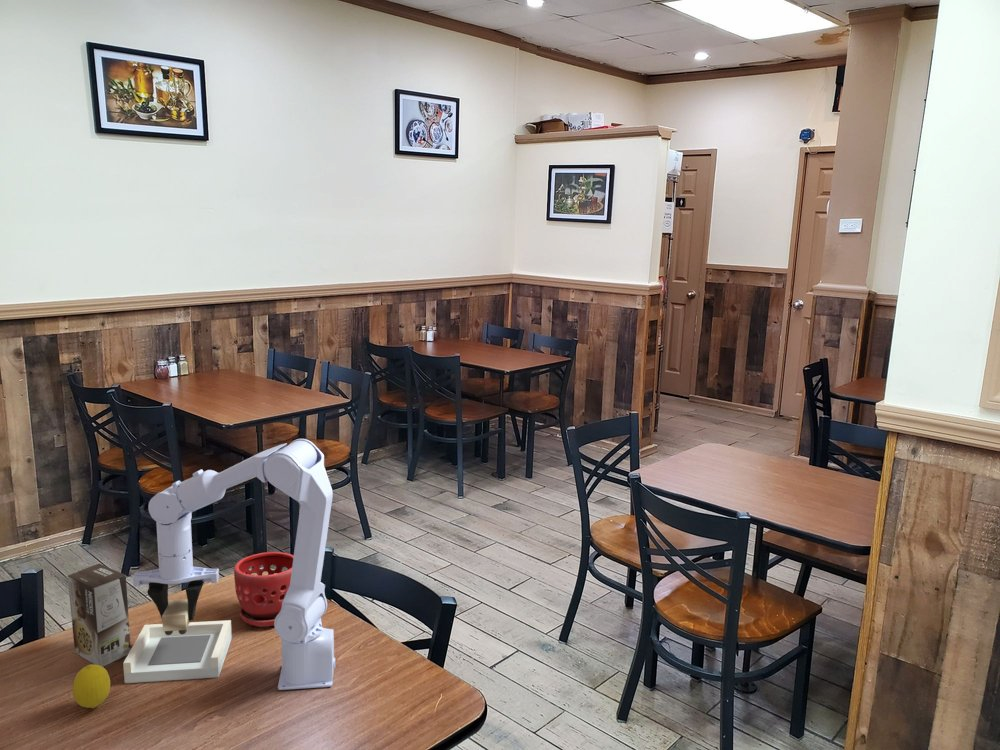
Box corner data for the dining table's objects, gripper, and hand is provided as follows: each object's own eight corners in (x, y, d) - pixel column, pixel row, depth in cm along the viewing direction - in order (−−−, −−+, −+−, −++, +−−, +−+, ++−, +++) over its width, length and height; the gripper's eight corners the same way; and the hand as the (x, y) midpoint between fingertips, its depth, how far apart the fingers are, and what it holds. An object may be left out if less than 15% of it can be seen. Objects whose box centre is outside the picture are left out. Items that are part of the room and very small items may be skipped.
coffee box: (133, 653, 142) (127, 574, 139) (99, 669, 136) (93, 588, 133) (105, 637, 147) (100, 561, 143) (72, 652, 141) (66, 574, 138)
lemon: (103, 693, 130) (100, 651, 128) (117, 707, 126) (114, 664, 125) (69, 708, 125) (65, 665, 124) (83, 722, 122) (79, 679, 120)
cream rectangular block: (193, 618, 142) (192, 598, 141) (186, 635, 136) (185, 614, 135) (171, 620, 141) (170, 599, 140) (163, 637, 135) (162, 616, 135)
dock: (231, 638, 148) (230, 620, 147) (218, 677, 135) (217, 657, 135) (145, 643, 145) (144, 624, 144) (124, 683, 133) (123, 663, 132)
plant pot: (312, 615, 158) (312, 562, 155) (257, 639, 148) (255, 583, 146) (278, 594, 166) (277, 544, 164) (223, 615, 156) (221, 562, 154)
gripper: (221, 539, 141) (223, 605, 144) (139, 542, 138) (143, 609, 141) (213, 556, 134) (216, 624, 137) (127, 559, 132) (132, 629, 134)
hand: (178, 618), depth 139 cm, fingers closed on cream rectangular block, 4 cm apart
